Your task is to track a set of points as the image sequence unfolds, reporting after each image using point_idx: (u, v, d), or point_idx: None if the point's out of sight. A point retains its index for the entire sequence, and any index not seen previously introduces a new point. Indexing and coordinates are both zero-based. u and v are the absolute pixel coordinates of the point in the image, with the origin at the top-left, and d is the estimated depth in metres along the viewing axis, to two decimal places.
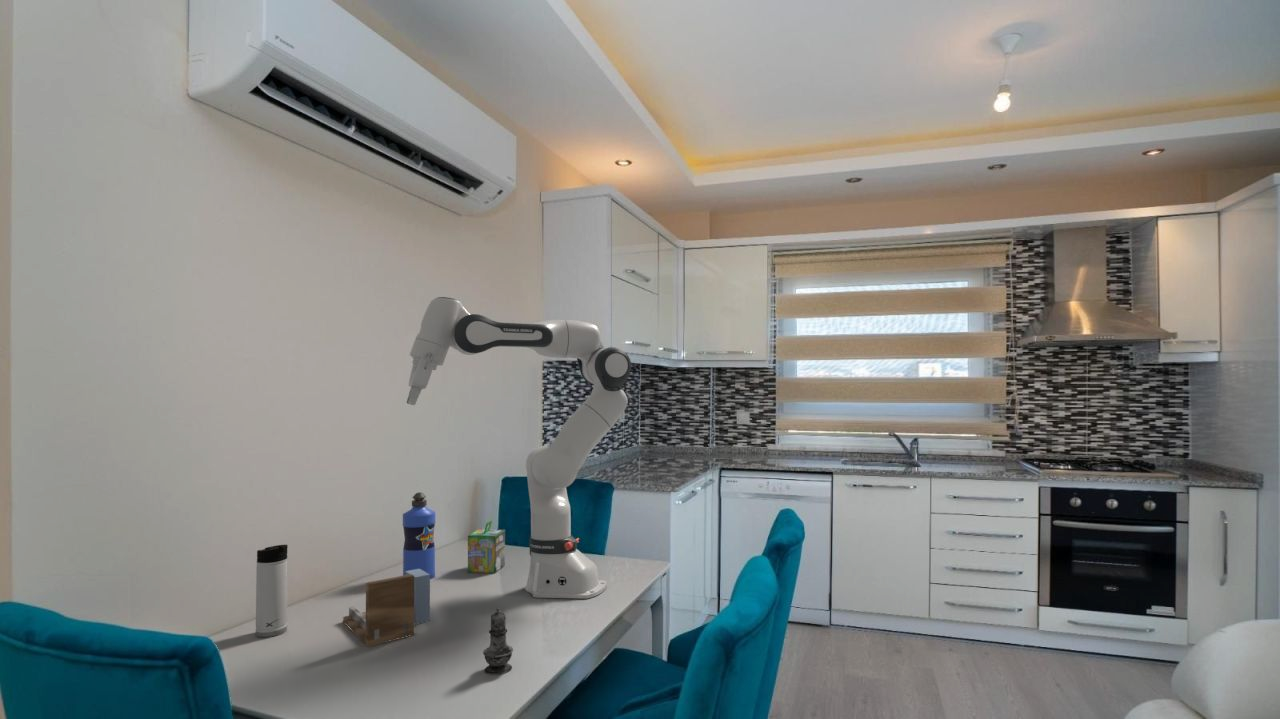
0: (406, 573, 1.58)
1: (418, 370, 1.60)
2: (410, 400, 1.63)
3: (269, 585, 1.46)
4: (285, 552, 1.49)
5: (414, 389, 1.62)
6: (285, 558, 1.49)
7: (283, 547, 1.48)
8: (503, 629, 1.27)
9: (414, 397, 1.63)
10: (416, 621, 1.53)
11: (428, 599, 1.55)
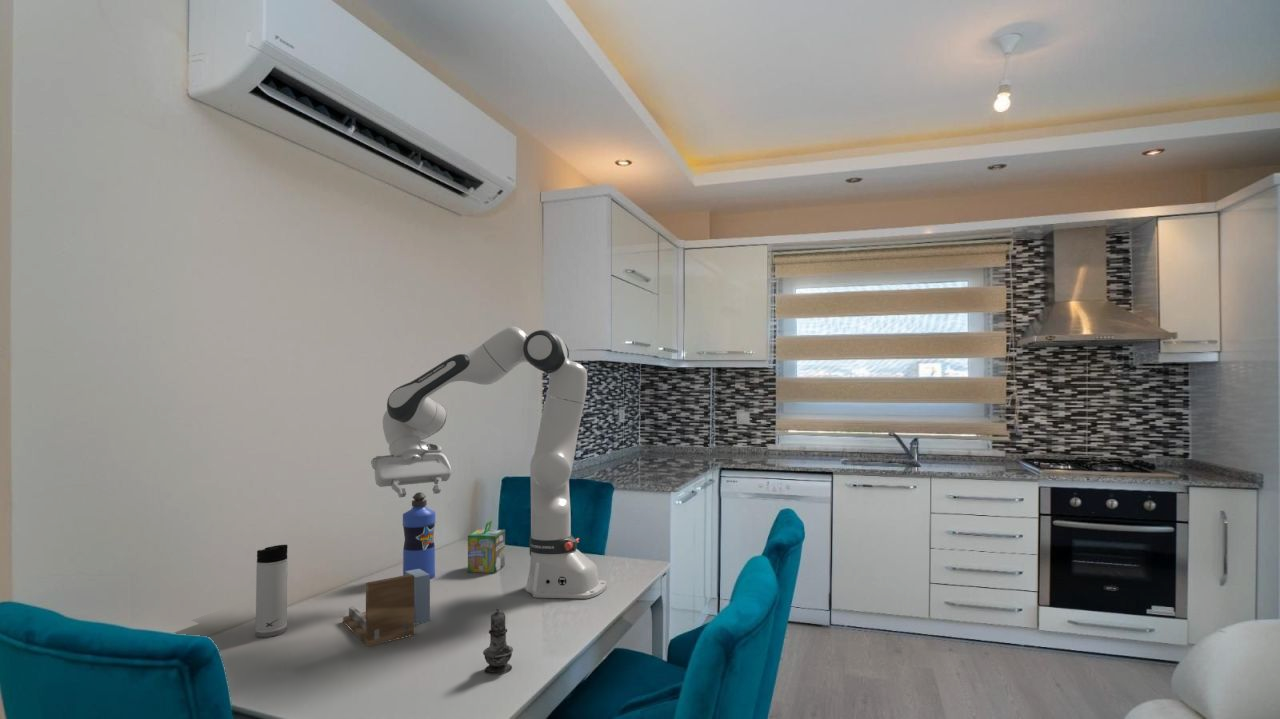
0: (406, 573, 1.58)
1: None
2: (398, 494, 1.69)
3: (269, 585, 1.46)
4: (285, 552, 1.49)
5: (392, 486, 1.70)
6: (285, 558, 1.49)
7: (283, 547, 1.48)
8: (503, 629, 1.27)
9: (397, 490, 1.70)
10: (416, 621, 1.53)
11: (428, 599, 1.55)
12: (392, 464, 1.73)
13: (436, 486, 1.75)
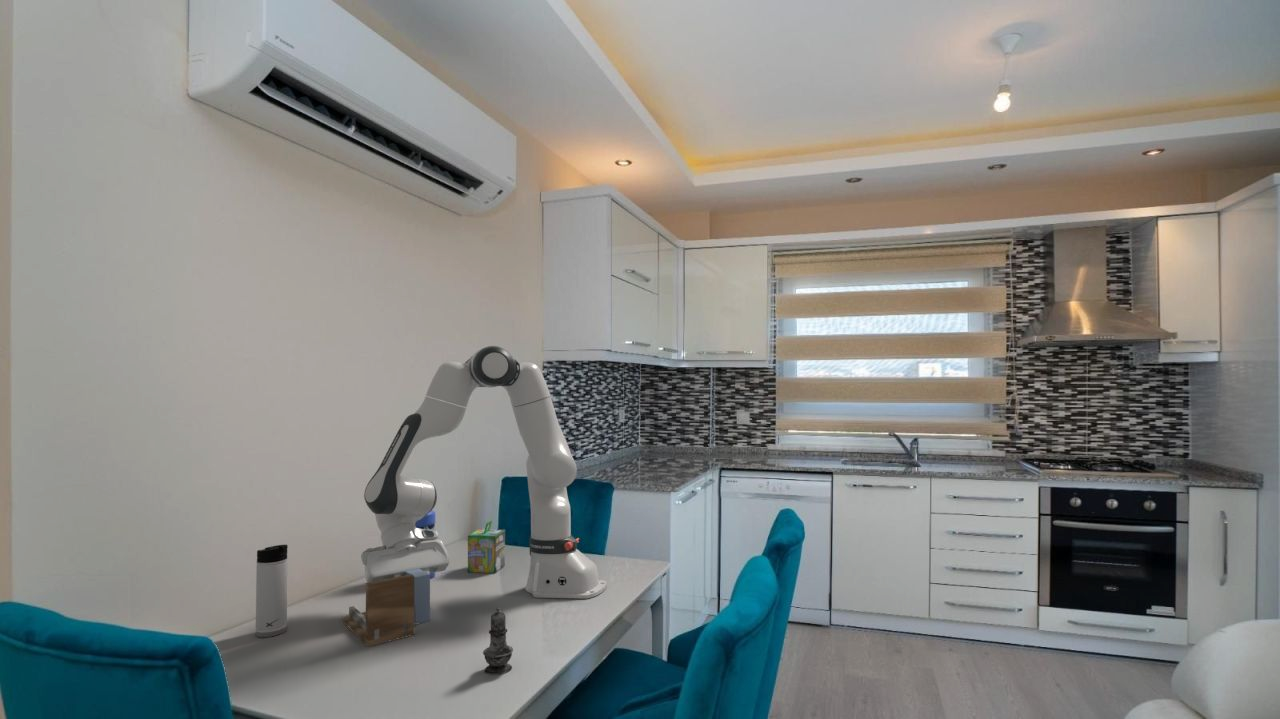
0: (406, 573, 1.58)
1: (365, 571, 1.57)
2: None
3: (269, 585, 1.46)
4: (285, 552, 1.49)
5: None
6: (285, 558, 1.49)
7: (283, 547, 1.48)
8: (503, 629, 1.27)
9: None
10: (416, 621, 1.53)
11: (428, 599, 1.55)
12: (384, 558, 1.59)
13: None
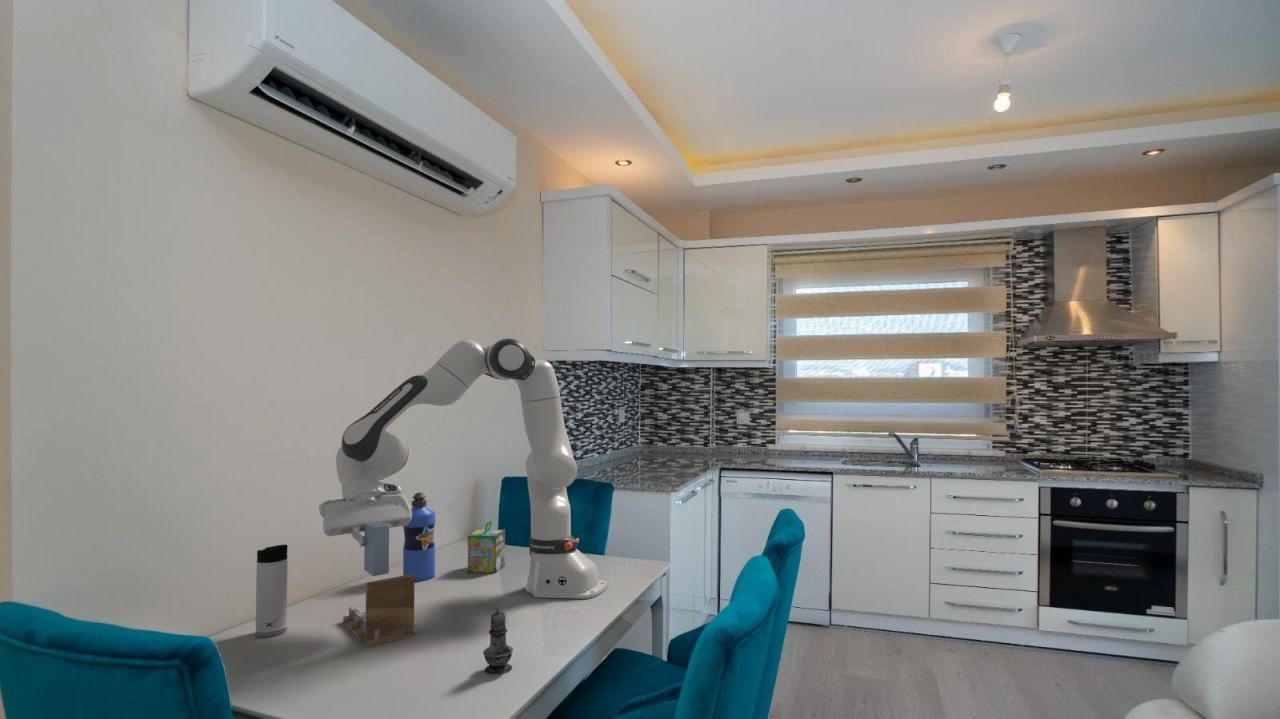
0: (365, 525, 1.53)
1: (323, 523, 1.52)
2: (359, 543, 1.52)
3: (269, 585, 1.46)
4: (285, 552, 1.49)
5: (352, 533, 1.53)
6: (285, 558, 1.49)
7: (283, 547, 1.48)
8: (503, 629, 1.27)
9: (358, 538, 1.52)
10: (374, 573, 1.48)
11: (387, 551, 1.50)
12: (342, 510, 1.54)
13: None
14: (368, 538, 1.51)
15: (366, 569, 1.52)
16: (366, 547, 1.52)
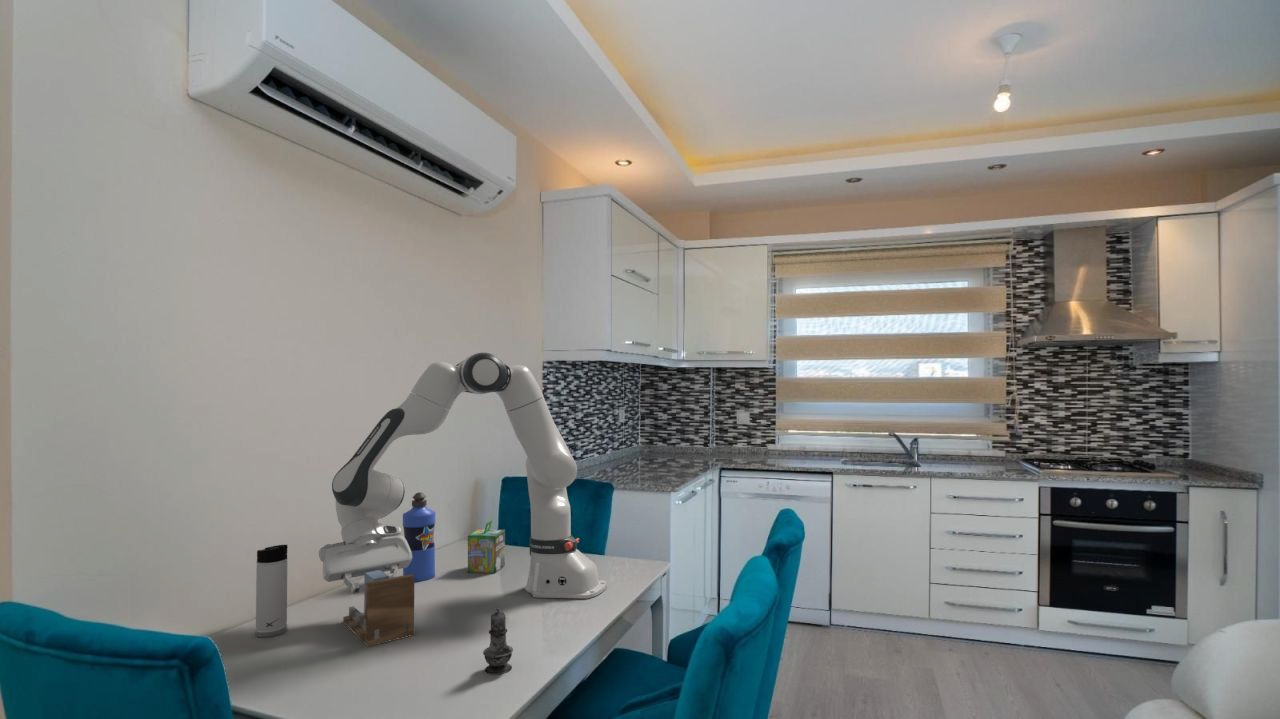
0: (365, 574, 1.53)
1: None
2: (351, 590, 1.50)
3: (269, 585, 1.46)
4: (285, 552, 1.49)
5: (344, 580, 1.51)
6: (285, 558, 1.49)
7: (283, 547, 1.48)
8: (503, 629, 1.27)
9: (350, 584, 1.50)
10: None
11: None
12: (342, 554, 1.53)
13: (391, 577, 1.55)
14: None
15: None
16: None
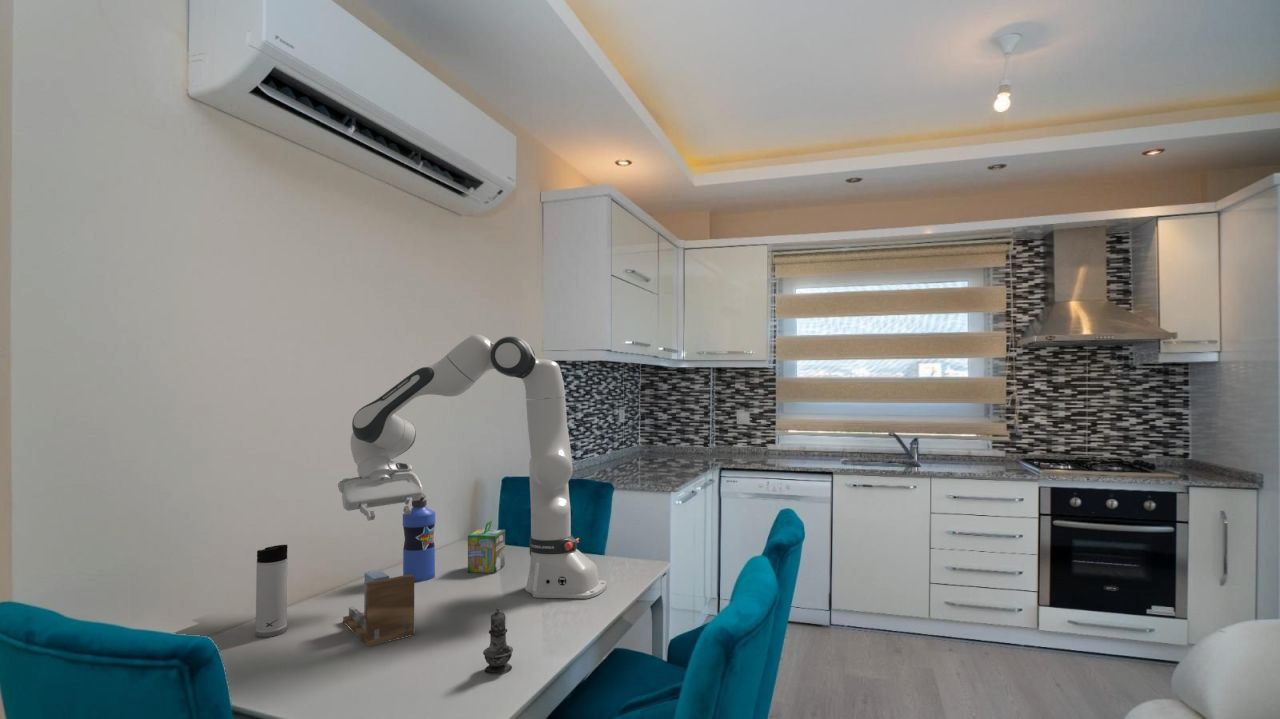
0: (365, 574, 1.53)
1: (342, 498, 1.66)
2: (367, 517, 1.64)
3: (269, 585, 1.46)
4: (285, 552, 1.49)
5: (360, 509, 1.65)
6: (285, 558, 1.49)
7: (283, 547, 1.48)
8: (503, 629, 1.27)
9: (366, 513, 1.64)
10: None
11: None
12: (359, 487, 1.68)
13: (407, 507, 1.70)
14: None
15: None
16: None
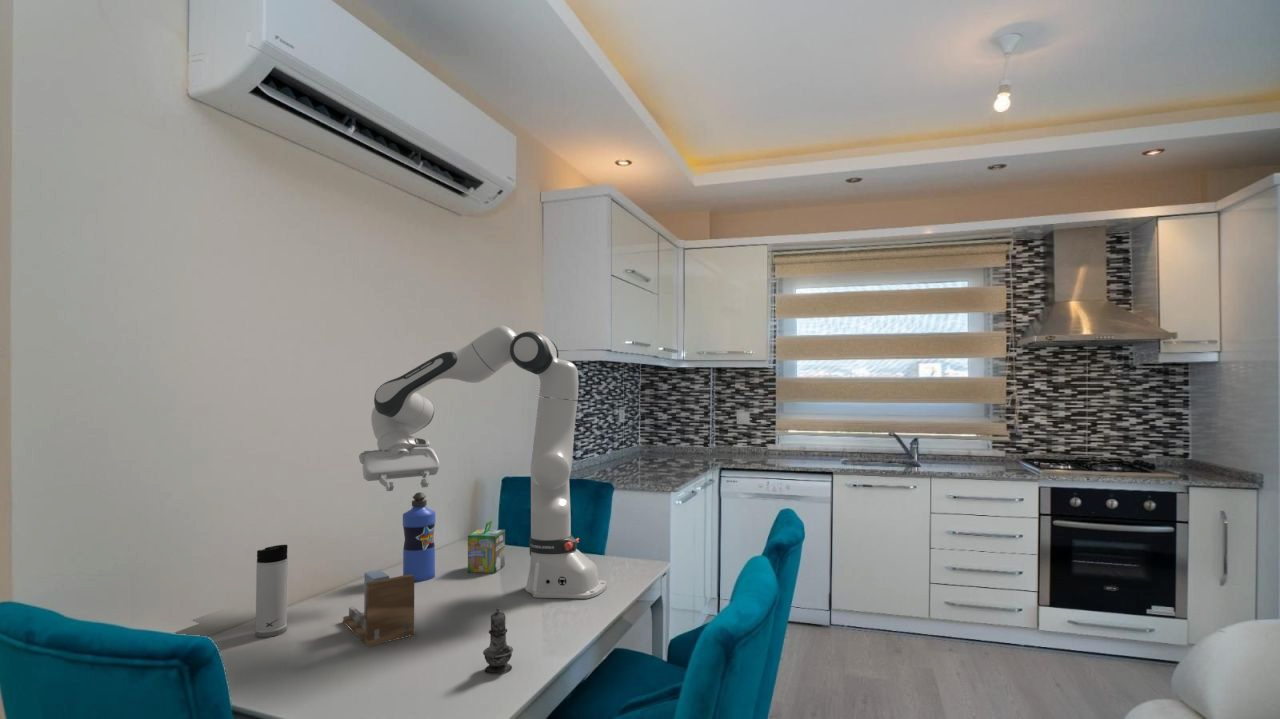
0: (365, 574, 1.53)
1: None
2: (386, 488, 1.71)
3: (269, 585, 1.46)
4: (285, 552, 1.49)
5: (379, 480, 1.72)
6: (285, 558, 1.49)
7: (283, 547, 1.48)
8: (503, 629, 1.27)
9: (385, 483, 1.71)
10: None
11: None
12: (379, 459, 1.75)
13: (424, 480, 1.77)
14: None
15: None
16: None
